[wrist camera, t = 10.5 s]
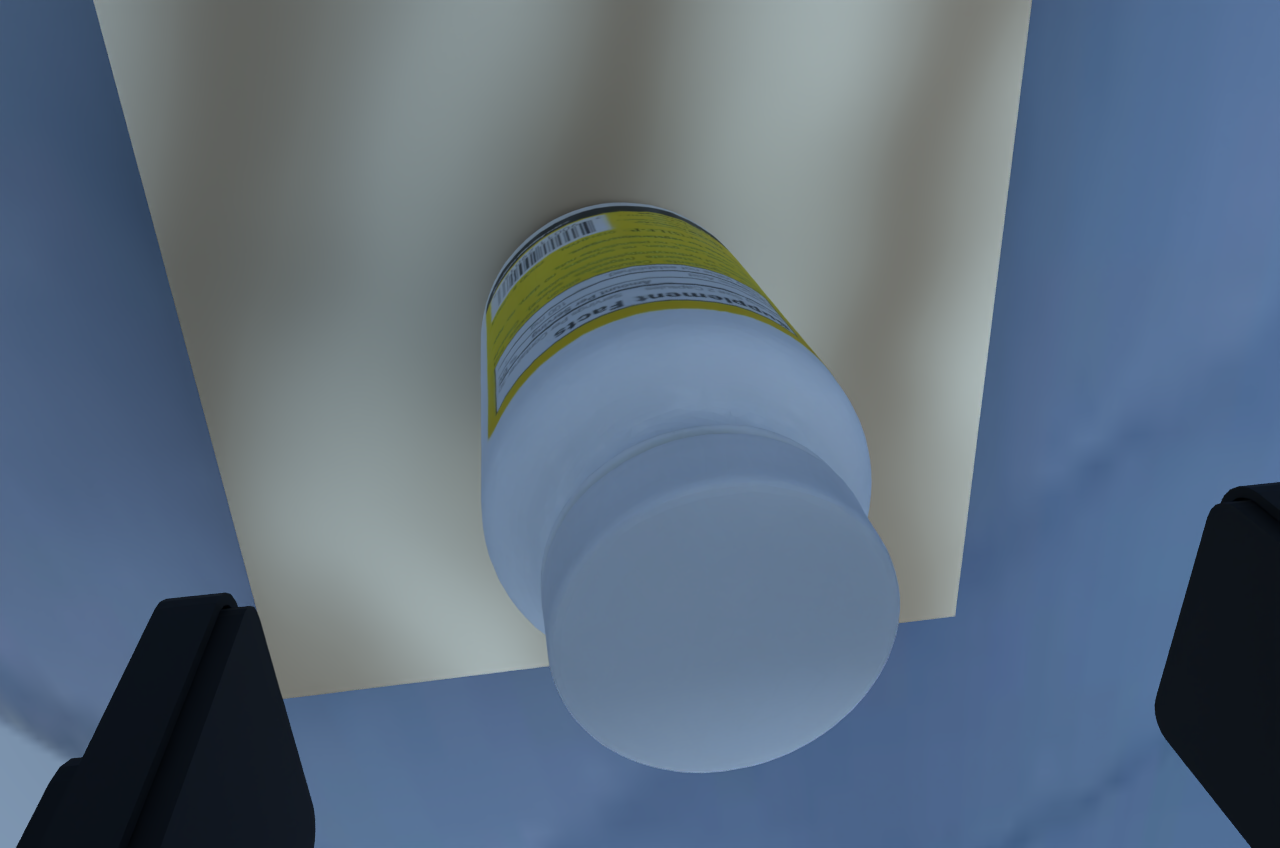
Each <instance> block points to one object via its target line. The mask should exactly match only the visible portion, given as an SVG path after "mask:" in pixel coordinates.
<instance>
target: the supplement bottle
mask: <svg viewBox="0 0 1280 848" xmlns="http://www.w3.org/2000/svg"><path fill="white" fill-rule="evenodd" d="M871 483H872V482H871V464H870V457H869V451H868V447H867V442H866V438H865V435H864V432H863V429H862V426H861V423H860V420H859V418H858V416H857V414H856V412H855V410H854V408H853V406H852V404H851V402H850V400H849V399H848V397H847V396H846V394H845V393H844V391H843V390H842V388H841V387H840V385H839V384H838V382H837V381H836V379H835V378H834V376H833V375H832V373H831V372H830V371H829V369H828V368H827V367H826V366H825V364H824V363H823V362H822V361H821V360H820V358H819V357H818V356H817V355H816V354H815V353H814V351H813V350H812V349H811V348H810V347H809V345H808V344H807V343H806V342H805V341H804V339H803V338H802V337H801V336H800V335H799V333H798V332H797V331H796V330H795V329H794V327H793V326H792V325H791V324H790V323H789V321H788V320H787V319H786V318H785V317H784V316H783V314H782V313H781V312H780V311H779V310H778V308H777V307H776V306H775V305H774V303H773V302H772V301H771V300H770V299H769V298H768V296H767V295H766V294H765V293H764V291H763V290H762V289H761V288H760V286H759V285H758V284H757V283H756V282H755V280H754V279H753V278H752V277H751V276H750V274H749V273H748V272H747V271H746V270H745V268H744V267H743V266H742V265H741V264H740V262H739V261H738V260H737V259H736V258H735V257H734V256H733V255H732V254H731V252H730V251H729V250H728V249H727V248H726V247H725V246H724V245H723V244H722V243H721V242H720V241H719V240H718V239H717V238H715V237H714V236H713V235H712V234H711V233H710V232H708V231H707V230H706V229H704V228H703V227H701V226H700V225H698V224H696V223H695V222H693V221H691V220H690V219H688V218H686V217H684V216H682V215H680V214H678V213H675V212H673V211H670V210H667V209H664V208H660V207H656V206H652V205H647V204H637V203H604V204H598V205H593V206H588V207H584V208H581V209H578V210H575V211H572V212H570V213H567V214H565V215H563V216H561V217H559V218H556V219H554V220H552V221H551V222H549V223H547V224H546V225H544V226H543V227H542V228H540V229H539V230H537V231H536V232H535V233H534V234H532V235H531V236H530V237H529V238H527V239H526V240H525V241H524V242H523V243H522V244H521V245H520V246H519V247H518V248H517V249H516V250H515V251H514V253H513V254H512V255H511V256H510V257H509V259H508V260H507V261H506V262H505V264H504V266H503V267H502V269H501V270H500V272H499V274H498V276H497V278H496V279H495V281H494V283H493V286H492V288H491V291H490V293H489V296H488V299H487V302H486V306H485V310H484V315H483V320H482V328H481V509H482V523H483V531H484V537H485V542H486V546H487V550H488V554H489V557H490V559H491V562H492V564H493V567H494V569H495V572H496V574H497V577H498V579H499V581H500V583H501V584H502V586H503V588H504V589H505V591H506V593H507V594H508V596H509V598H510V599H511V600H512V602H513V603H514V604H515V606H516V607H517V608H518V609H519V611H520V612H521V613H522V614H523V615H524V616H525V617H526V618H527V619H528V620H529V621H530V622H531V623H532V624H533V625H534V627H535V628H537V629H538V630H540V631H541V632H542V633H544V634H545V635H546V644H547V652H548V659H549V667H550V670H551V673H552V676H553V680H554V683H555V686H556V688H557V690H558V693H559V695H560V697H561V699H562V701H563V702H564V704H565V706H566V707H567V709H568V710H569V712H570V714H571V715H572V716H573V717H574V719H575V720H576V721H577V722H578V723H579V724H580V725H581V726H582V727H583V728H584V729H585V730H586V731H587V732H588V733H589V734H590V735H591V736H592V737H593V738H595V739H596V740H597V741H598V742H600V743H601V744H602V745H603V746H605V747H607V748H609V749H610V750H612V751H614V752H616V753H618V754H620V755H622V756H624V757H626V758H628V759H631V760H633V761H636V762H638V763H641V764H644V765H648V766H651V767H655V768H659V769H665V770H671V771H677V772H688V773H708V772H720V771H728V770H733V769H739V768H744V767H750V766H754V765H758V764H762V763H765V762H768V761H771V760H773V759H776V758H779V757H781V756H784V755H786V754H789V753H791V752H793V751H794V750H796V749H798V748H800V747H802V746H804V745H806V744H808V743H810V742H811V741H813V740H814V739H816V738H818V737H819V736H821V735H822V734H824V733H825V732H826V731H828V730H829V729H831V728H832V727H833V726H835V725H836V724H837V723H838V722H839V721H840V720H842V719H843V718H844V717H845V716H846V715H847V714H848V713H850V712H851V711H852V710H853V709H854V708H855V706H856V705H857V704H858V703H859V702H860V701H861V700H862V699H863V697H864V696H865V695H866V694H867V692H868V691H869V690H870V688H871V687H872V685H873V684H874V682H875V681H876V680H877V678H878V677H879V675H880V673H881V671H882V669H883V667H884V665H885V664H886V662H887V660H888V657H889V655H890V652H891V649H892V646H893V643H894V640H895V637H896V633H897V629H898V623H899V614H900V593H899V585H898V581H897V577H896V572H895V569H894V566H893V563H892V560H891V558H890V555H889V553H888V550H887V548H886V546H885V545H884V543H883V541H882V540H881V538H880V536H879V535H878V533H877V532H876V530H875V529H874V527H873V525H872V524H871V522H870V521H869V519H868V513H869V507H870V498H871Z"/></svg>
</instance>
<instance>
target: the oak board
mask: <svg viewBox="0 0 1280 848" xmlns="http://www.w3.org/2000/svg"><path fill="white" fill-rule="evenodd" d="M93 1H94V5H95V9H96V12H97V16H98V20H99V24H100V27H101V31H102V35H103V38H104V42H105V46H106V50H107V53H108V57H109V61H110V65H111V68H112V72H113V76H114V79H115V83H116V87H117V91H118V94H119V98H120V102H121V106H122V109H123V113H124V117H125V120H126V124H127V128H128V132H129V135H130V139H131V143H132V147H133V150H134V154H135V158H136V161H137V165H138V169H139V173H140V176H141V180H142V184H143V188H144V191H145V195H146V199H147V202H148V206H149V210H150V214H151V217H152V221H153V225H154V229H155V232H156V236H157V240H158V244H159V247H160V251H161V255H162V258H163V262H164V266H165V270H166V273H167V277H168V281H169V285H170V288H171V292H172V296H173V299H174V303H175V307H176V311H177V314H178V318H179V322H180V326H181V329H182V333H183V337H184V340H185V344H186V348H187V352H188V355H189V359H190V363H191V367H192V370H193V374H194V378H195V381H196V385H197V389H198V393H199V396H200V400H201V404H202V408H203V411H204V415H205V419H206V422H207V426H208V430H209V434H210V437H211V441H212V445H213V449H214V452H215V456H216V460H217V463H218V467H219V471H220V475H221V478H222V482H223V486H224V490H225V493H226V497H227V501H228V504H229V508H230V512H231V516H232V519H233V523H234V527H235V531H236V534H237V538H238V542H239V545H240V549H241V553H242V557H243V560H244V564H245V568H246V572H247V575H248V579H249V583H250V586H251V590H252V594H253V598H254V601H255V605H256V609H257V612H258V615H259V618H260V621H261V624H262V628H263V631H264V635H265V638H266V642H267V646H268V649H269V653H270V656H271V660H272V663H273V667H274V670H275V674H276V677H277V681H278V684H279V688H280V691H281V695H282V698H283V699H286V698H294V697H302V696H310V695H319V694H327V693H335V692H343V691H351V690H359V689H367V688H375V687H383V686H392V685H400V684H408V683H416V682H424V681H432V680H440V679H448V678H457V677H465V676H473V675H481V674H489V673H497V672H505V671H513V670H522V669H530V668H538V667H546V666H549V659H548V652H547V644H546V635H545V634H544V633H542V632H541V631H540V630H538V629H537V628H535V627H534V625H533V624H532V623H531V622H530V621H529V620H528V619H527V618H526V617H525V616H524V615H523V614H522V613H521V612H520V611H519V609H518V608H517V607H516V606H515V604H514V603H513V602H512V600H511V599H510V598H509V596H508V594H507V593H506V591H505V589H504V588H503V586H502V584H501V583H500V581H499V579H498V577H497V574H496V572H495V569H494V567H493V564H492V562H491V559H490V557H489V554H488V550H487V546H486V542H485V537H484V531H483V523H482V509H481V328H482V320H483V315H484V310H485V306H486V302H487V299H488V296H489V293H490V291H491V288H492V286H493V283H494V281H495V279H496V278H497V276H498V274H499V272H500V270H501V269H502V267H503V266H504V264H505V262H506V261H507V260H508V259H509V257H510V256H511V255H512V254H513V253H514V251H515V250H516V249H517V248H518V247H519V246H520V245H521V244H522V243H523V242H524V241H525V240H526V239H527V238H529V237H530V236H531V235H532V234H534V233H535V232H536V231H537V230H539V229H540V228H542V227H543V226H544V225H546V224H547V223H549V222H551V221H552V220H554V219H556V218H559V217H561V216H563V215H565V214H567V213H570V212H572V211H575V210H578V209H581V208H584V207H588V206H593V205H598V204H604V203H637V204H647V205H652V206H656V207H660V208H664V209H667V210H670V211H673V212H675V213H678V214H680V215H682V216H684V217H686V218H688V219H690V220H691V221H693V222H695V223H696V224H698V225H700V226H701V227H703V228H704V229H706V230H707V231H708V232H710V233H711V234H712V235H713V236H714V237H715V238H717V239H718V240H719V241H720V242H721V243H722V244H723V245H724V246H725V247H726V248H727V249H728V250H729V251H730V252H731V254H732V255H733V256H734V257H735V258H736V259H737V260H738V261H739V262H740V264H741V265H742V266H743V267H744V268H745V270H746V271H747V272H748V273H749V274H750V276H751V277H752V278H753V279H754V280H755V282H756V283H757V284H758V285H759V286H760V288H761V289H762V290H763V291H764V293H765V294H766V295H767V296H768V298H769V299H770V300H771V301H772V302H773V303H774V305H775V306H776V307H777V308H778V310H779V311H780V312H781V313H782V314H783V316H784V317H785V318H786V319H787V320H788V321H789V323H790V324H791V325H792V326H793V327H794V329H795V330H796V331H797V332H798V333H799V335H800V336H801V337H802V338H803V339H804V341H805V342H806V343H807V344H808V345H809V347H810V348H811V349H812V350H813V351H814V353H815V354H816V355H817V356H818V357H819V358H820V360H821V361H822V362H823V363H824V364H825V366H826V367H827V368H828V369H829V371H830V372H831V373H832V375H833V376H834V378H835V379H836V381H837V382H838V384H839V385H840V387H841V388H842V390H843V391H844V393H845V394H846V396H847V397H848V399H849V400H850V402H851V404H852V406H853V408H854V410H855V412H856V414H857V416H858V418H859V420H860V423H861V426H862V429H863V432H864V435H865V438H866V442H867V447H868V451H869V457H870V464H871V482H872V483H871V498H870V507H869V513H868V519H869V521H870V522H871V524H872V525H873V527H874V529H875V530H876V532H877V533H878V535H879V536H880V538H881V540H882V541H883V543H884V545H885V546H886V548H887V550H888V553H889V555H890V558H891V560H892V563H893V566H894V569H895V572H896V577H897V581H898V585H899V593H900V614H899V623H903V622H911V621H919V620H928V619H936V618H944V617H952V616H955V612H956V604H957V596H958V588H959V580H960V572H961V564H962V556H963V548H964V540H965V532H966V524H967V516H968V508H969V500H970V492H971V484H972V476H973V468H974V460H975V452H976V443H977V435H978V427H979V419H980V411H981V403H982V395H983V387H984V379H985V371H986V363H987V355H988V347H989V339H990V331H991V323H992V315H993V307H994V299H995V291H996V283H997V275H998V267H999V259H1000V251H1001V243H1002V235H1003V227H1004V219H1005V211H1006V203H1007V195H1008V187H1009V179H1010V171H1011V163H1012V155H1013V147H1014V139H1015V131H1016V123H1017V115H1018V107H1019V99H1020V91H1021V83H1022V75H1023V67H1024V59H1025V51H1026V43H1027V35H1028V27H1029V19H1030V11H1031V3H1032V0H93Z"/></svg>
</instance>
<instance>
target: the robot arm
mask: <svg viewBox="0 0 1280 848" xmlns="http://www.w3.org/2000/svg"><path fill="white" fill-rule="evenodd" d="M1155 715H1156V719H1157V723H1158V726H1159V728H1160V730H1161V733H1162V734H1163V736H1164V737H1165V739H1166V740H1167V741H1168V743H1169V744H1170V745H1171V747H1172V748H1173V749H1174V750H1175V752H1176V753H1177V754H1178V755H1179V757H1180V758H1181V759H1182V760H1183V762H1184V763H1185V764H1186V766H1187V767H1188V768H1189V769H1190V771H1191V772H1192V773H1193V774H1194V776H1195V777H1196V778H1197V779H1198V781H1199V782H1200V783H1201V784H1202V786H1203V787H1204V788H1205V790H1206V791H1207V792H1208V793H1209V795H1210V796H1211V797H1212V798H1213V800H1214V801H1215V802H1216V803H1217V805H1218V806H1219V807H1220V809H1221V810H1222V811H1223V812H1224V814H1225V815H1226V816H1227V817H1228V819H1229V820H1230V821H1231V822H1232V824H1233V825H1234V826H1235V828H1236V829H1237V830H1238V831H1239V833H1240V834H1241V835H1242V836H1243V838H1244V839H1245V840H1246V841H1247V843H1248V844H1249V845H1250V847H1251V848H1280V482H1277V483H1267V484H1258V485H1248V486H1239V487H1236V488H1233V489H1230V490H1229V491H1228V492H1227V493H1226V494H1225V495H1224V497H1223V499H1222V501H1221V503H1220V504H1217V505H1215V506H1214V507H1213V508H1212V509H1211V510H1210V513H1209V515H1208V517H1207V521H1206V524H1205V528H1204V531H1203V535H1202V538H1201V542H1200V545H1199V549H1198V552H1197V556H1196V559H1195V563H1194V566H1193V570H1192V573H1191V577H1190V580H1189V584H1188V587H1187V591H1186V594H1185V598H1184V601H1183V605H1182V608H1181V612H1180V615H1179V619H1178V622H1177V626H1176V629H1175V633H1174V636H1173V640H1172V643H1171V647H1170V650H1169V654H1168V657H1167V661H1166V664H1165V668H1164V671H1163V675H1162V678H1161V682H1160V685H1159V689H1158V692H1157V696H1156V700H1155ZM314 842H315V815H314V808H313V804H312V800H311V797H310V793H309V790H308V786H307V783H306V779H305V776H304V772H303V768H302V765H301V761H300V758H299V754H298V751H297V747H296V744H295V740H294V737H293V733H292V730H291V726H290V723H289V719H288V716H287V712H286V709H285V705H284V702H283V698H282V695H281V691H280V688H279V684H278V681H277V677H276V674H275V670H274V667H273V663H272V660H271V656H270V653H269V649H268V646H267V642H266V638H265V635H264V631H263V628H262V624H261V621H260V618H259V615H258V612H257V611H256V609H255V608H254V607H252V606H246V607H238V606H237V603H236V601H235V599H234V598H233V597H232V595H231V594H228V593H218V594H208V595H199V596H189V597H180V598H170V599H165V600H163V601H161V602H159V604H158V605H157V607H156V608H155V610H154V612H153V614H152V616H151V618H150V620H149V622H148V624H147V626H146V628H145V630H144V632H143V634H142V636H141V639H140V641H139V643H138V645H137V647H136V649H135V651H134V653H133V655H132V657H131V659H130V661H129V663H128V665H127V667H126V669H125V671H124V673H123V675H122V677H121V680H120V682H119V684H118V686H117V688H116V690H115V692H114V694H113V696H112V698H111V700H110V702H109V704H108V706H107V708H106V710H105V712H104V714H103V716H102V718H101V721H100V723H99V725H98V727H97V729H96V731H95V733H94V735H93V737H92V739H91V741H90V743H89V745H88V747H87V749H86V751H85V753H84V755H83V757H81V758H72V759H70V760H69V761H67V762H66V763H65V764H63V765H62V766H61V767H60V768H59V769H58V771H57V772H56V774H55V775H54V777H53V778H52V780H51V781H50V783H49V784H48V786H47V788H46V790H45V792H44V794H43V796H42V798H41V800H40V802H39V804H38V806H37V808H36V810H35V812H34V814H33V816H32V818H31V820H30V821H29V823H28V825H27V827H26V829H25V831H24V833H23V835H22V837H21V839H20V841H19V843H18V845H17V847H16V848H314Z"/></svg>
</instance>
